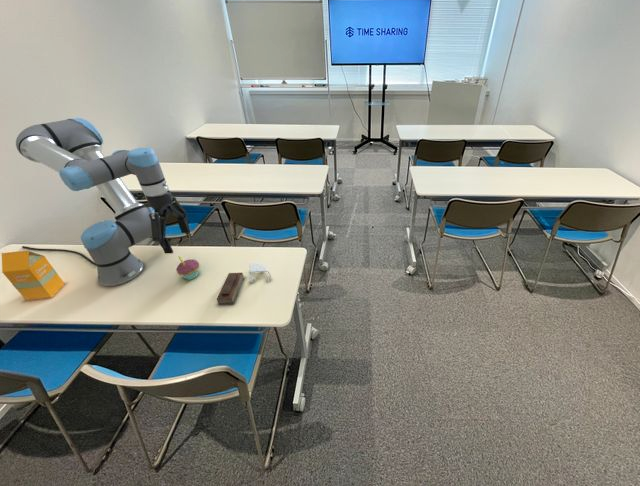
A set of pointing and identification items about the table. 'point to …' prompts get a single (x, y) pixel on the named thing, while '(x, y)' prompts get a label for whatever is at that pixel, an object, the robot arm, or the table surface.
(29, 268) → the orange juice
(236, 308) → the table surface
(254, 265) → the origami figure
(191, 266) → the cupcake
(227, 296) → the brown rectangular panel
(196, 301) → the table surface
